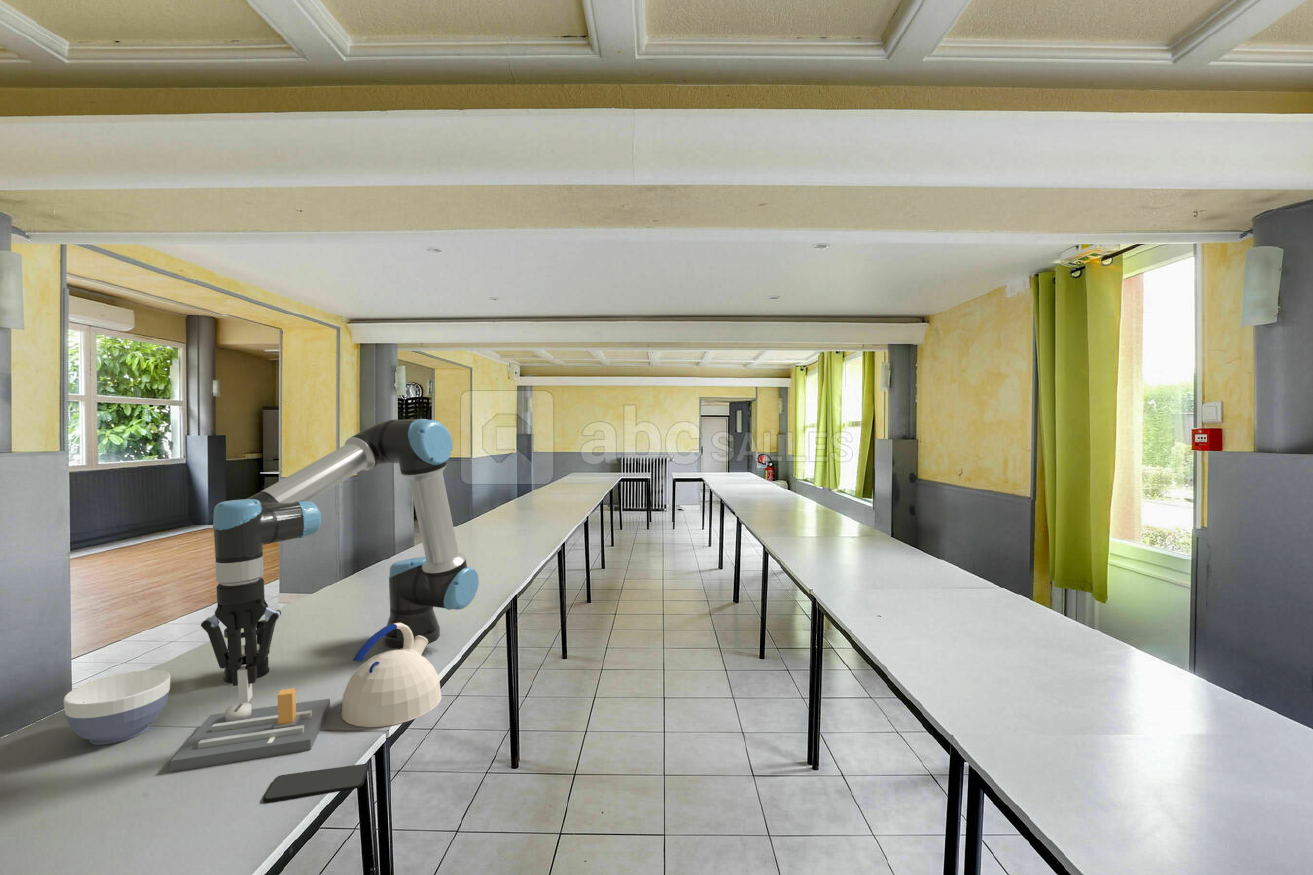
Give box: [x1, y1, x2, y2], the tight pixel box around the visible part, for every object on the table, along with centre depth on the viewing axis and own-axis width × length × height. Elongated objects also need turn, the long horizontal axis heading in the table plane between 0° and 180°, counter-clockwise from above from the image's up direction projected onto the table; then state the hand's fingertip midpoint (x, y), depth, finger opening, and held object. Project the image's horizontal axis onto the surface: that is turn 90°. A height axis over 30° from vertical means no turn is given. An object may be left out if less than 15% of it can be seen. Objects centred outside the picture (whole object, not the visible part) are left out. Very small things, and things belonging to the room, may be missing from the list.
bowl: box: [63, 669, 171, 746], centre depth 119 cm, size 16×16×10 cm
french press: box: [223, 614, 271, 684], centre depth 148 cm, size 12×9×23 cm
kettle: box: [340, 623, 442, 728], centre depth 131 cm, size 20×21×18 cm
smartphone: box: [262, 763, 369, 804], centre depth 102 cm, size 7×1×15 cm
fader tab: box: [273, 688, 300, 729], centre depth 117 cm, size 4×4×7 cm
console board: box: [170, 698, 331, 773], centre depth 118 cm, size 22×18×4 cm
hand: (245, 699), depth 115 cm, fingers closed
